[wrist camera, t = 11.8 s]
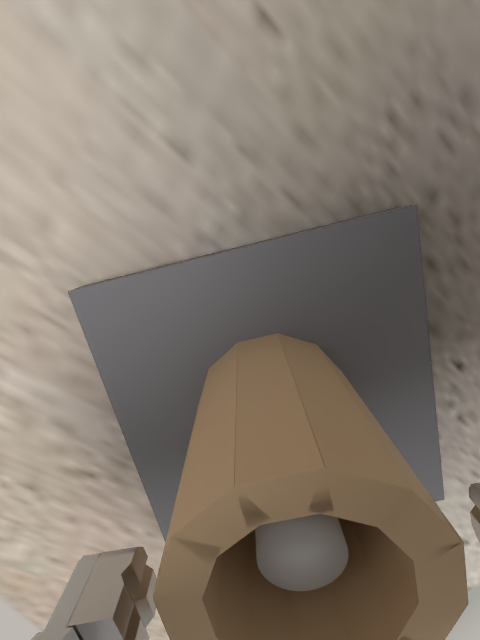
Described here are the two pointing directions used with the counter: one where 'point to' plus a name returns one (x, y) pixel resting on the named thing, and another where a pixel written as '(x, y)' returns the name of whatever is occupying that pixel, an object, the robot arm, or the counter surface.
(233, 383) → the paper roll
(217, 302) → the roll holder
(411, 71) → the counter surface
